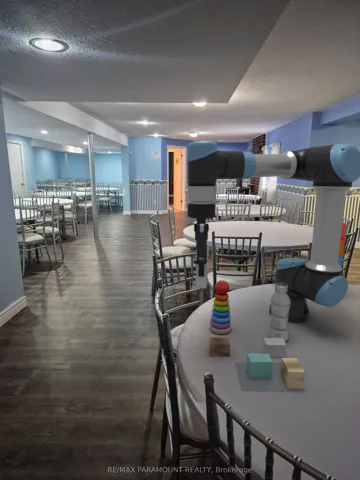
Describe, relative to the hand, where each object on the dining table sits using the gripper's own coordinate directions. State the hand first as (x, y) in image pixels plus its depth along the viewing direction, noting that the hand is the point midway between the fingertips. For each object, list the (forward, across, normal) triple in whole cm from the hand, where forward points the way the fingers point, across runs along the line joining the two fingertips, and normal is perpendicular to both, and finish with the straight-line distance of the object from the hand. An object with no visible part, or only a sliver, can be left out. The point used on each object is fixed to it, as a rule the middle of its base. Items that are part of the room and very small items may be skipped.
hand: (200, 278), depth 83 cm
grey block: (+27, -6, +23) cm, 36 cm away
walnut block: (+27, -5, +6) cm, 28 cm away
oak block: (+26, +7, +25) cm, 37 cm away
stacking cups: (+27, -55, +60) cm, 86 cm away
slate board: (+27, +5, +18) cm, 33 cm away
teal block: (+26, +4, +16) cm, 31 cm away
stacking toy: (+27, -21, +8) cm, 35 cm away
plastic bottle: (+27, -15, +27) cm, 41 cm away
